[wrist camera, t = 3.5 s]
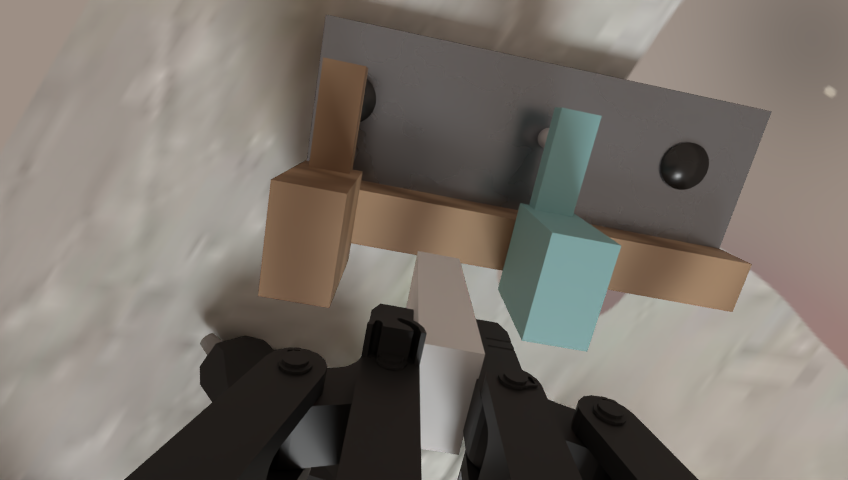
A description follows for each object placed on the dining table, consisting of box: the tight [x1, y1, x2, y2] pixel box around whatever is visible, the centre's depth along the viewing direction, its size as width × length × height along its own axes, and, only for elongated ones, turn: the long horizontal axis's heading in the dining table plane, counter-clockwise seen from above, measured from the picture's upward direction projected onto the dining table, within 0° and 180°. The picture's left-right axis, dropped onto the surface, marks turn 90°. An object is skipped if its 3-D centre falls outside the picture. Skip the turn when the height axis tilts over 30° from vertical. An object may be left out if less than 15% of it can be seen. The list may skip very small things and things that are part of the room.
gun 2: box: [200, 333, 339, 480], centre depth 31 cm, size 3×16×10 cm, turn 54°
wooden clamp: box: [258, 57, 752, 312], centre depth 24 cm, size 26×10×9 cm, turn 79°
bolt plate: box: [307, 15, 771, 249], centre depth 29 cm, size 26×12×1 cm, turn 79°
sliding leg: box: [498, 107, 621, 351], centre depth 24 cm, size 3×10×9 cm, turn 169°
